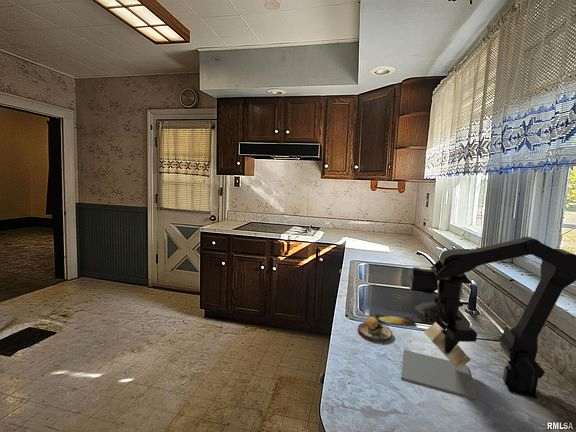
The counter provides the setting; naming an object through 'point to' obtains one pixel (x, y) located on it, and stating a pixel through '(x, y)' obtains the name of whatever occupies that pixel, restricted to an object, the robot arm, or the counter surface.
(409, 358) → the mat
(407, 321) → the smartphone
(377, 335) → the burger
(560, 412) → the counter surface
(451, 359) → the block
